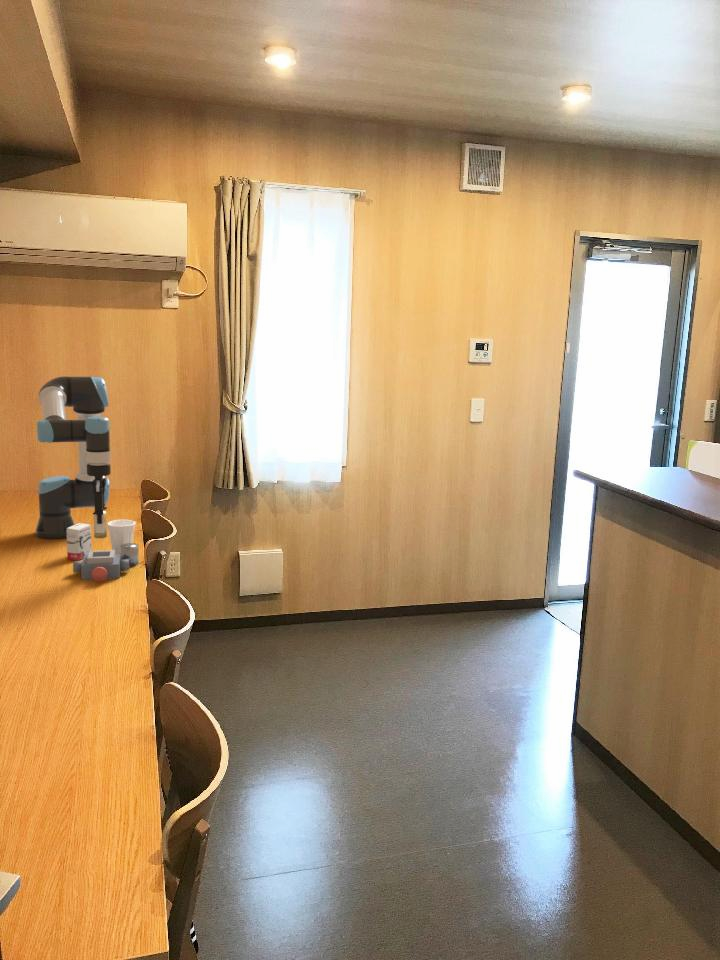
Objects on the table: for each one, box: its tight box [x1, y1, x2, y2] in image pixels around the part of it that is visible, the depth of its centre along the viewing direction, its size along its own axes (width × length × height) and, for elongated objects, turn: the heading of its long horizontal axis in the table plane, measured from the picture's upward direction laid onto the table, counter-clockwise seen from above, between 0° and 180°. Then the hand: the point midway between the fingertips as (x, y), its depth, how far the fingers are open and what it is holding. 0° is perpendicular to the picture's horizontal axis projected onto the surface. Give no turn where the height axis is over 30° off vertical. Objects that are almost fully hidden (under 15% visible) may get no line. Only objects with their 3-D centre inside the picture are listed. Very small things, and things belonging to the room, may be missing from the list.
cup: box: [106, 519, 136, 554], centre depth 262 cm, size 10×10×13 cm
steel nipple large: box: [121, 542, 140, 568], centre depth 255 cm, size 6×6×7 cm
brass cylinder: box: [93, 510, 108, 539], centre depth 241 cm, size 4×4×9 cm
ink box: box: [66, 522, 93, 561], centre depth 260 cm, size 9×5×12 cm, turn 168°
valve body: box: [72, 549, 130, 582], centre depth 242 cm, size 16×18×7 cm
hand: (100, 530), depth 242 cm, fingers closed on brass cylinder, 4 cm apart
